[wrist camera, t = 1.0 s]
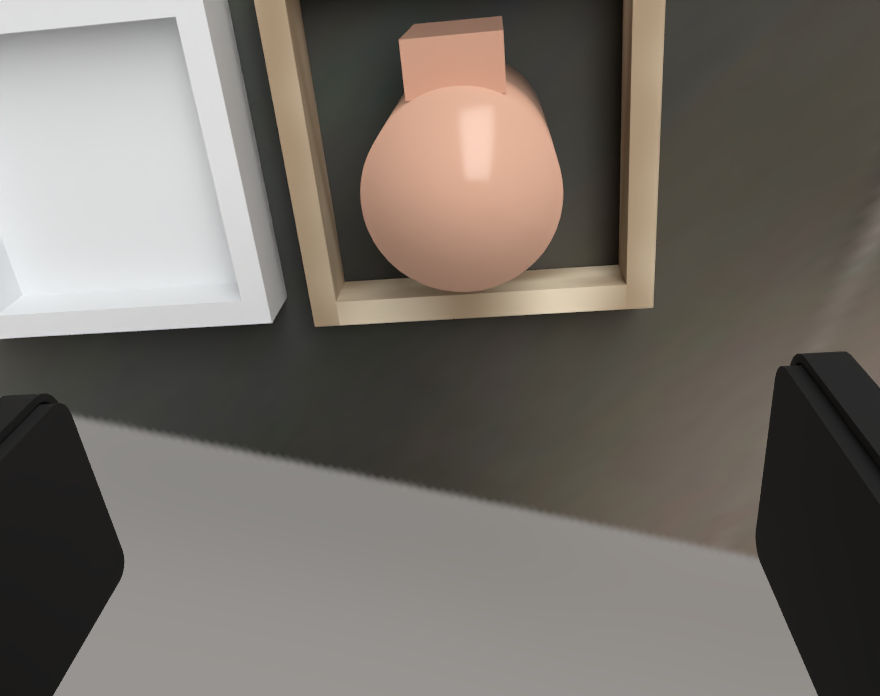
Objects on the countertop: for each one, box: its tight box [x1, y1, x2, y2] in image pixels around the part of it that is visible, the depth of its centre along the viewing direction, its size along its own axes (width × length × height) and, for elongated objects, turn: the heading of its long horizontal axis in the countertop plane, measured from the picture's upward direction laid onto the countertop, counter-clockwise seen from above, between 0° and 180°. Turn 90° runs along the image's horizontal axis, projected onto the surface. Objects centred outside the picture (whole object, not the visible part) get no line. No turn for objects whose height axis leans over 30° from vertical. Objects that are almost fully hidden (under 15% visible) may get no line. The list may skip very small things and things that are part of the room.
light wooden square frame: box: [254, 0, 665, 327], centre depth 27 cm, size 13×13×2 cm
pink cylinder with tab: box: [360, 16, 563, 292], centre depth 24 cm, size 7×6×8 cm
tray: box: [0, 0, 287, 339], centre depth 28 cm, size 12×12×2 cm
